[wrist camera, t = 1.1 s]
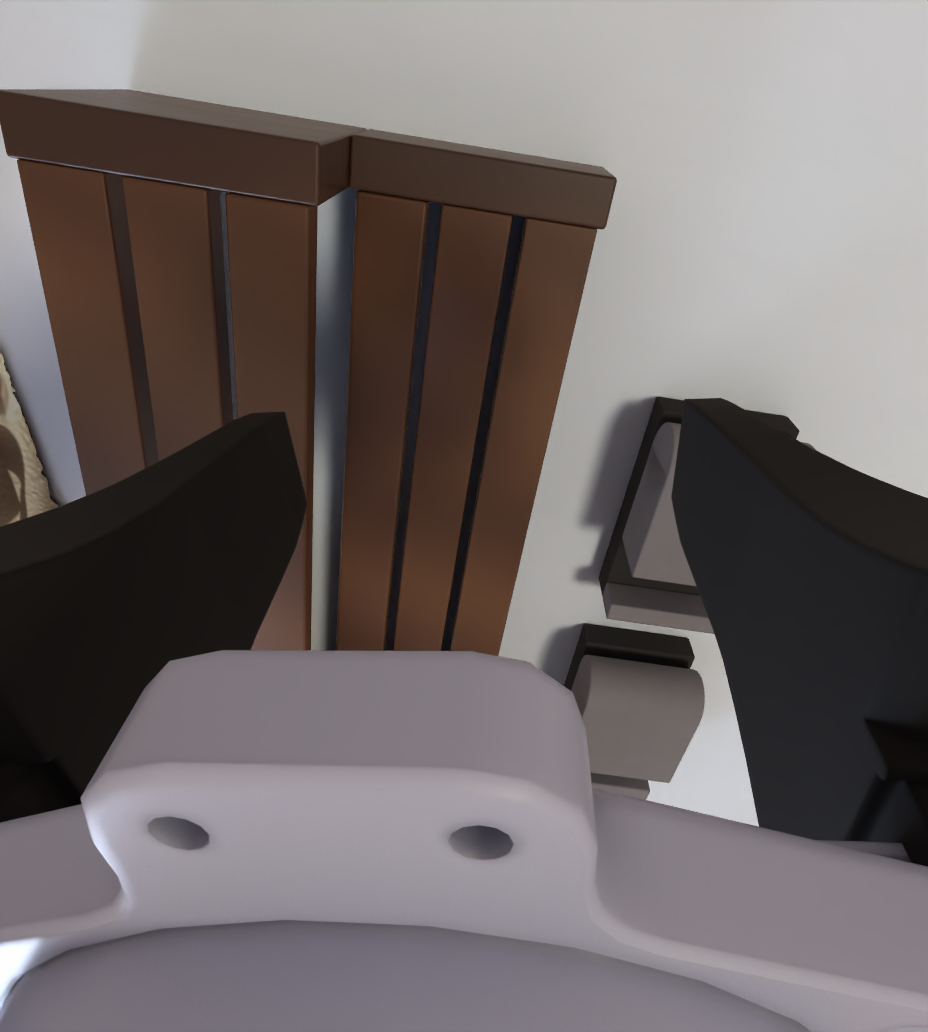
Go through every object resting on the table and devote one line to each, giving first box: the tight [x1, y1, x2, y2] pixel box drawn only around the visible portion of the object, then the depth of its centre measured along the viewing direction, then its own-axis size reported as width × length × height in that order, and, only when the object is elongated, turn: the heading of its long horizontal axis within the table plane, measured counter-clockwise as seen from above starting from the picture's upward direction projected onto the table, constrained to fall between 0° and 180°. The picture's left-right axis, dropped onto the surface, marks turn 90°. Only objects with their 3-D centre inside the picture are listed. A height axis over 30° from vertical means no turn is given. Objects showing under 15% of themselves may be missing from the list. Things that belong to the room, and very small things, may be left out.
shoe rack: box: [0, 90, 617, 656], centre depth 21 cm, size 22×13×6 cm, turn 172°
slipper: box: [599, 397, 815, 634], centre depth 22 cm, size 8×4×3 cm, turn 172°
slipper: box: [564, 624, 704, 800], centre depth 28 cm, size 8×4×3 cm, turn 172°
